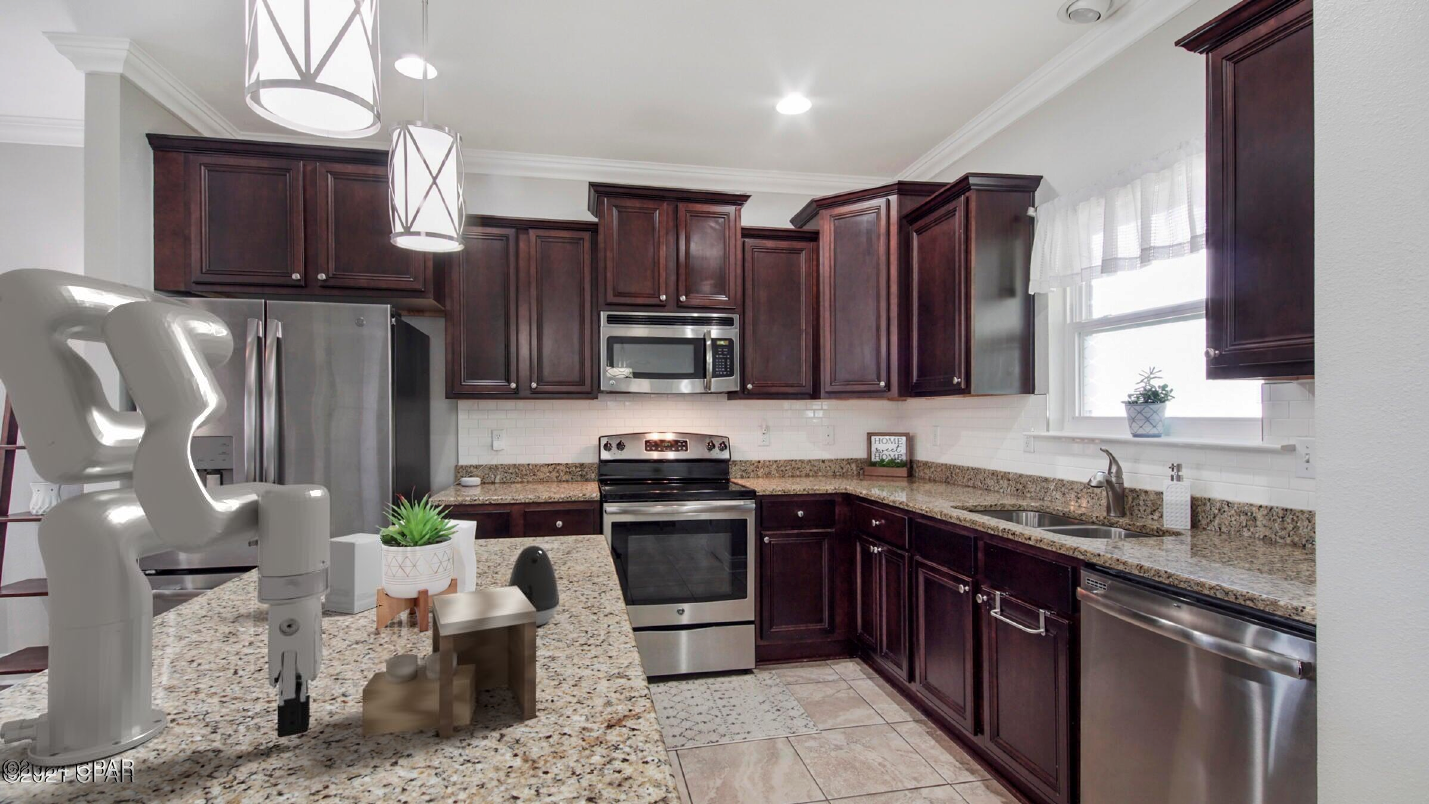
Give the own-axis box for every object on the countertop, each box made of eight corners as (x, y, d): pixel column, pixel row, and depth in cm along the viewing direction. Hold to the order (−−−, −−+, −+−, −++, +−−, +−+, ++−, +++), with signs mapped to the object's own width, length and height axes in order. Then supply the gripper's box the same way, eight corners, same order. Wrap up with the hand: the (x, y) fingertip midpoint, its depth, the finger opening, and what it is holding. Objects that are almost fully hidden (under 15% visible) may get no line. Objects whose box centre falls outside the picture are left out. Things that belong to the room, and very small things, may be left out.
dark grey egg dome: (508, 635, 118) (508, 553, 118) (503, 618, 128) (503, 543, 128) (563, 627, 122) (563, 548, 122) (554, 612, 132) (554, 539, 132)
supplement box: (390, 603, 138) (391, 534, 139) (354, 615, 130) (354, 542, 130) (360, 598, 142) (360, 531, 142) (322, 610, 133) (323, 539, 134)
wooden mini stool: (440, 739, 80) (440, 624, 80) (432, 695, 93) (432, 596, 93) (536, 717, 86) (536, 610, 86) (516, 679, 98) (516, 585, 98)
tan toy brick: (475, 706, 89) (475, 646, 90) (469, 725, 84) (469, 661, 84) (375, 716, 87) (375, 654, 87) (362, 736, 81) (362, 670, 81)
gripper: (324, 595, 74) (324, 752, 74) (333, 568, 87) (333, 701, 87) (246, 604, 71) (245, 770, 70) (267, 574, 84) (267, 714, 84)
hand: (293, 731), depth 79 cm, fingers closed
